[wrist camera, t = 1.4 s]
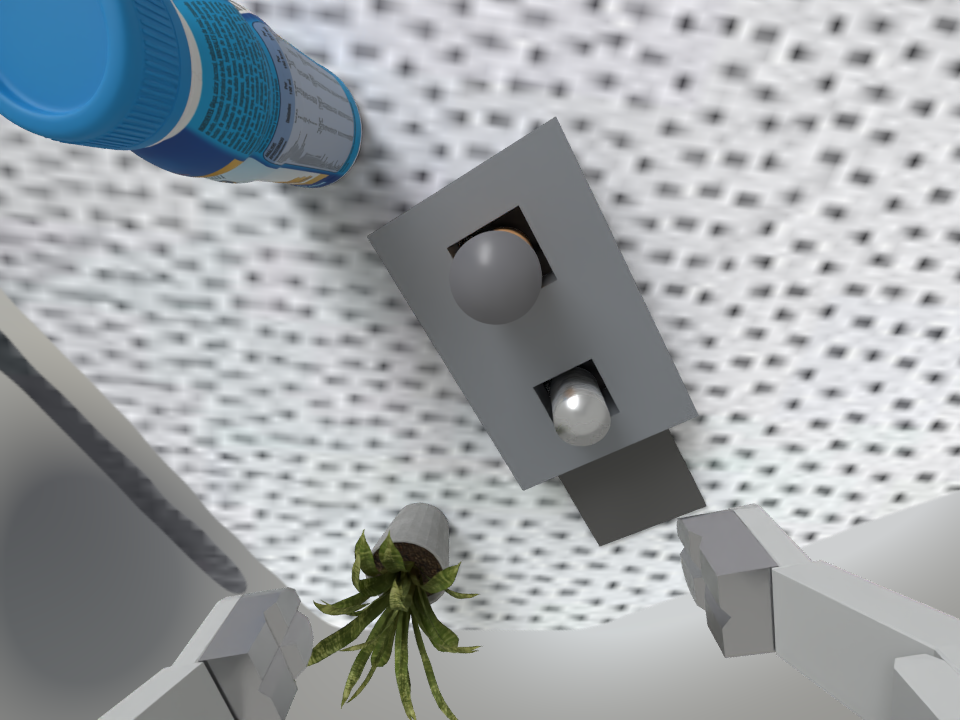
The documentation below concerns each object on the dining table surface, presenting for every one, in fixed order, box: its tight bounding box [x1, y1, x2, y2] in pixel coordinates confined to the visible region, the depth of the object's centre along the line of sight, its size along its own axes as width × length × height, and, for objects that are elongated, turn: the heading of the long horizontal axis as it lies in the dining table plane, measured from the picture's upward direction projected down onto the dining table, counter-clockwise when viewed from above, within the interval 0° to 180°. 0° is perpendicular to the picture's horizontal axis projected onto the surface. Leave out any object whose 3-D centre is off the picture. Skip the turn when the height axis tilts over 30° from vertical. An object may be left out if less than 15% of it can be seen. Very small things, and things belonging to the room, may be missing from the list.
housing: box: [367, 117, 699, 491], centre depth 34 cm, size 22×14×5 cm, turn 30°
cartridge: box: [449, 227, 542, 325], centre depth 29 cm, size 5×5×12 cm
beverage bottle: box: [0, 0, 362, 188], centre depth 24 cm, size 8×8×20 cm
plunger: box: [550, 367, 611, 446], centre depth 32 cm, size 4×4×6 cm
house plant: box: [307, 503, 480, 720], centre depth 36 cm, size 14×14×16 cm
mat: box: [559, 429, 706, 546], centre depth 40 cm, size 10×10×1 cm
